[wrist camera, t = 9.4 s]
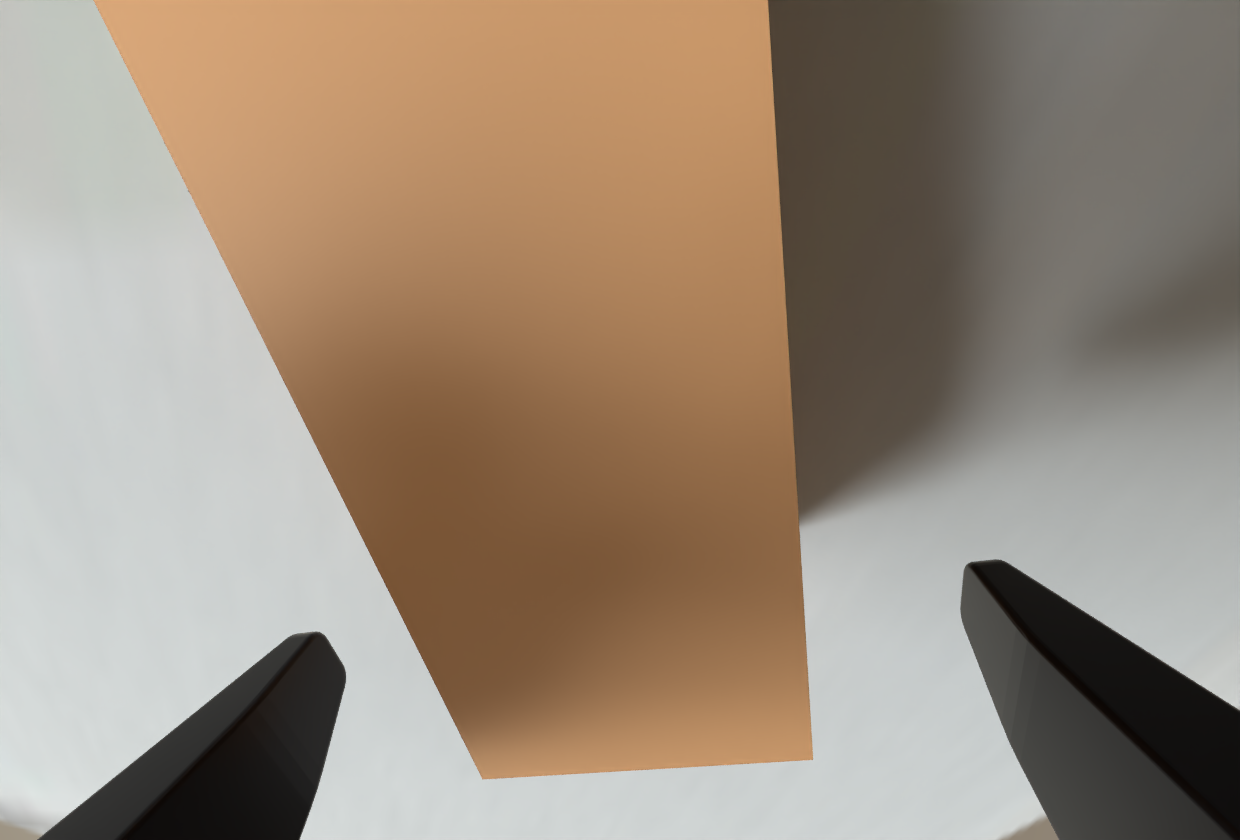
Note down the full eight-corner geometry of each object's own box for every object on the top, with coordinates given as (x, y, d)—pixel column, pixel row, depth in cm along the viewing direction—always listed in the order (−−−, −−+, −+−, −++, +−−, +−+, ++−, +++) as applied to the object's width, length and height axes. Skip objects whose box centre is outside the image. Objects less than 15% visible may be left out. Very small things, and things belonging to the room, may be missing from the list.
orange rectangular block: (697, -136, 7) (744, -378, 3) (761, 533, 12) (812, 759, 8) (338, -43, 8) (15, -154, 4) (537, 557, 13) (482, 779, 9)
